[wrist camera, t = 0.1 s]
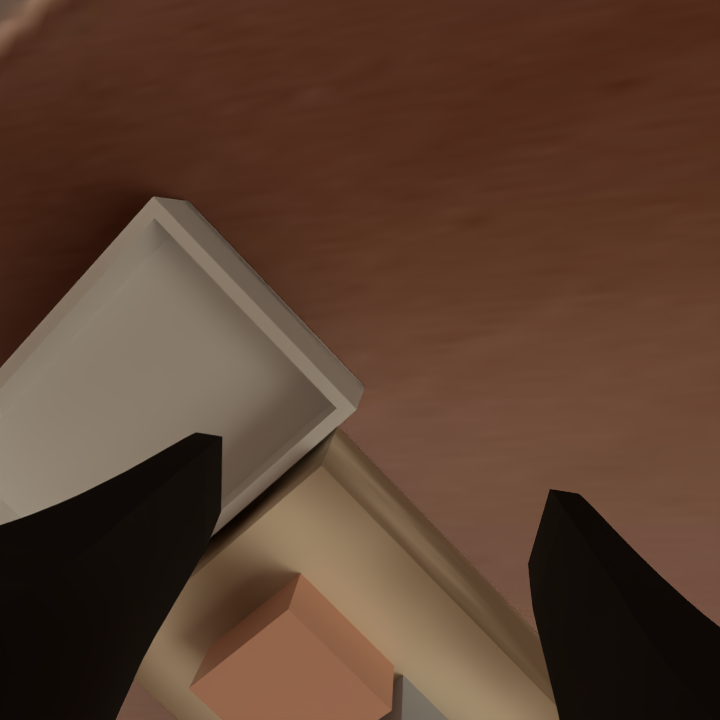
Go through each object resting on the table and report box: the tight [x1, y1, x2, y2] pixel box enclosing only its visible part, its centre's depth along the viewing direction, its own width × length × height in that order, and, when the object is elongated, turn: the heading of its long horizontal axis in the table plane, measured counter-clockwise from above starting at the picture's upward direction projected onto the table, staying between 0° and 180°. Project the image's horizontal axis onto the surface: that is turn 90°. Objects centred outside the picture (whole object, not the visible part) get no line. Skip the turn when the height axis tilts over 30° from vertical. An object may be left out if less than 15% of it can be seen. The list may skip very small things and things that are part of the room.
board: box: [134, 427, 559, 720], centre depth 23 cm, size 12×14×4 cm
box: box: [0, 196, 364, 537], centre depth 23 cm, size 16×10×3 cm, turn 134°
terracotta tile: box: [189, 573, 394, 720], centre depth 20 cm, size 5×5×2 cm
